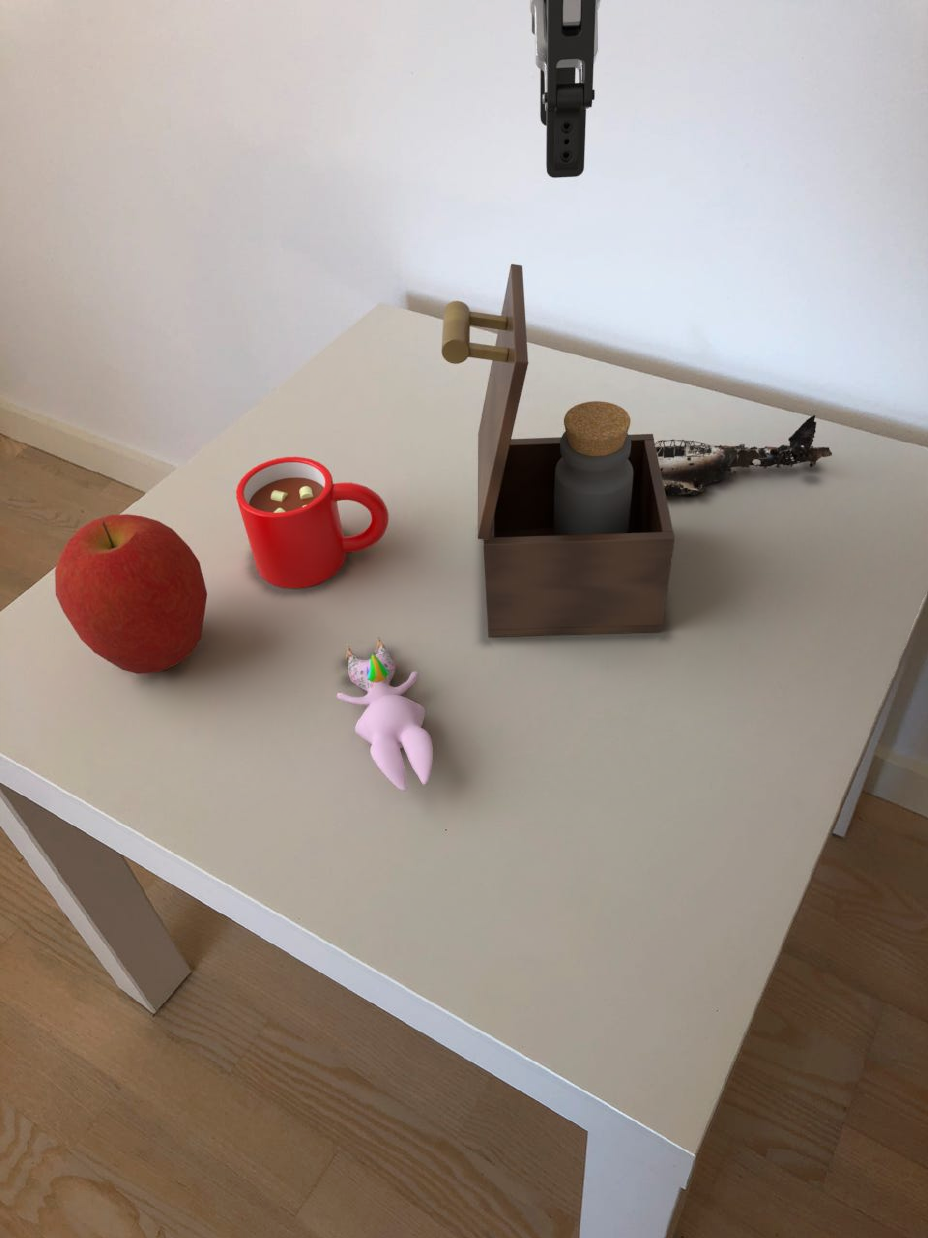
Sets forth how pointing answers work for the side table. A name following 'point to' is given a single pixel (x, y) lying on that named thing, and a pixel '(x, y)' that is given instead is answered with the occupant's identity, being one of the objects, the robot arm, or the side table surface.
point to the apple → (132, 592)
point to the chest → (575, 553)
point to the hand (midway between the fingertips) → (560, 147)
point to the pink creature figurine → (389, 718)
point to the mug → (302, 520)
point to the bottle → (594, 471)
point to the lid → (492, 383)
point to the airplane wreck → (730, 459)
